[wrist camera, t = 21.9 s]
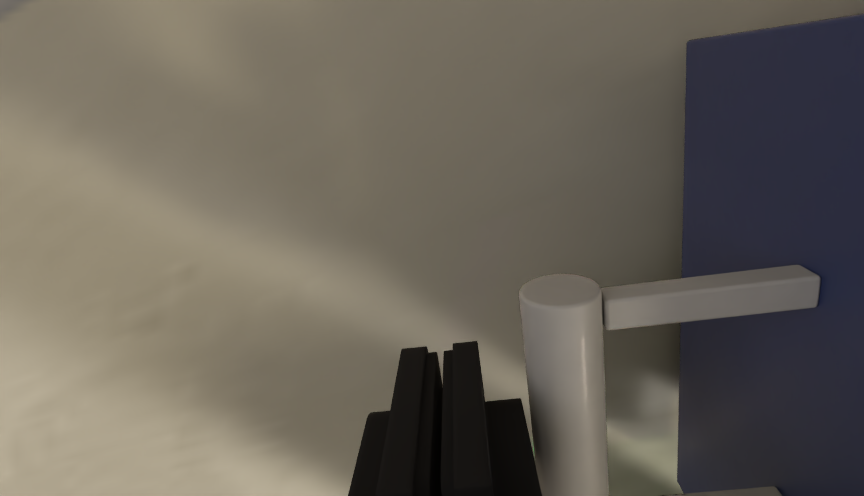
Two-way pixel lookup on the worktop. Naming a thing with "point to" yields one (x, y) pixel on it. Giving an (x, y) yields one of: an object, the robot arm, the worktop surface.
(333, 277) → the worktop surface
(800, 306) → the drawer
